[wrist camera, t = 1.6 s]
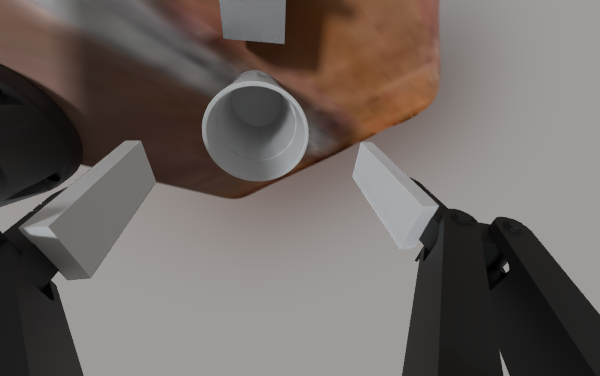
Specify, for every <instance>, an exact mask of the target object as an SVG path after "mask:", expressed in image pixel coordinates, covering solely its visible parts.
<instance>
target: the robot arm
mask: <svg viewBox="0 0 600 376" xmlns="http://www.w3.org/2000/svg"><path fill="white" fill-rule="evenodd" d="M81 160H82V146H81V142H80V139H79V137H78V134H77V132H76V130H75V128H74V127H73V125H72V123H71V122H70V120H69V119H68V118H67V116H66V115H65V114H64V113H63V112H62V110H61V109H60V108H59V107H58V106H57V105H56V104H55V103H54V102H53V101H52V100H51V99H50V98H49V97H48V96H46V95H45V94H44V93H43V92H42V91H40V90H39V89H38V88H37V87H35V86H34V85H32V84H31V83H30V82H28V81H27V80H25V79H24V78H22V77H20V76H19V75H17V74H16V73H14V72H12V71H10V70H9V69H7V68H5V67H3V66H1V65H0V207H2V206H5V205H8V204H11V203H14V202H17V201H20V200H23V199H26V198H29V197H32V196H35V195H38V194H41V193H44V192H47V191H50V190H52V189H54V188H56V187H57V186H59V185H60V184H62V183H63V182H64V181H66V180H67V179H68V178H69V177H71V176H72V175H73V174H74V173H75V172H76V171H77V170H78V168H79V166H80V164H81ZM352 178H353V179H354V181H355V182H356V184H357V185H358V187H359V188H360V190H361V191H362V193H363V194H364V196H365V197H366V199H367V200H368V202H369V203H370V205H371V206H372V208H373V209H374V211H375V212H376V214H377V215H378V217H379V218H380V220H381V221H382V223H383V224H384V226H385V227H386V229H387V230H388V232H389V233H390V235H391V236H392V238H393V239H394V241H395V242H396V244H397V245H398V247H399V248H400V249H411V248H415V246H416V244H417V242H418V241H419V240H420V241H421V242H422V243H423V245H424V247H423V248H422V250H421V251H420V253H419V255H418V256H417V258H416V260H415V261H418V260H419V259H420V260H419V268H418V274H417V281H416V287H415V294H414V300H413V307H412V314H411V320H410V327H409V333H408V340H407V347H406V353H405V361H404V367H403V373H402V376H503V371H502V364H501V359H500V352H501V354H502V357H503V360H504V362H505V365H506V367H507V370H508V372H509V375H510V376H600V314H599V313H598V312H597V311H596V310H595V308H594V307H593V306H592V305H591V303H590V302H589V301H588V300H587V299H586V297H585V296H584V295H583V294H582V293H581V291H580V290H579V289H578V288H577V286H576V285H575V284H574V283H573V282H572V280H571V279H570V278H569V277H568V276H567V274H566V273H565V272H564V270H563V269H562V268H561V267H560V266H559V264H558V263H557V262H556V261H555V260H554V258H553V257H552V256H551V255H550V253H549V252H548V251H547V250H546V248H545V247H544V246H543V245H542V244H541V242H540V241H539V240H538V239H537V238H536V236H535V235H534V234H533V233H532V231H531V230H529V229H528V228H527V227H526V226H524V225H523V224H522V223H520V222H518V221H516V220H514V219H510V218H506V217H497V218H496V219H495V220H494V221H493V222H492V224H491V225H489V224H484V223H478V222H477V220H475V219H474V218H473V217H472V216H470V215H469V214H467V213H465V212H463V211H461V210H457V209H448V208H447V207H446V206H445V205H444V204H443V203H441V202H440V201H439V200H438V199H437V198H436V197H435V196H434V195H433V194H431V193H430V192H429V191H428V190H427V189H425V187H424V186H423V185H422V184H421V183H419V182H418V181H416V180H414V179H413V178H410V177H408V176H407V175H406V174H405V173H404V172H403V171H402V170H401V169H400V168H399V167H398V166H397V165H395V164H394V163H393V162H392V161H391V160H390V159H389V158H388V157H387V156H386V155H385V154H384V153H383V152H382V151H381V150H379V149H378V148H377V147H376V146H375V145H374V144H373V143H372V142H361V144H360V148H359V152H358V156H357V160H356V164H355V168H354V171H353V175H352ZM155 183H156V180H155V177H154V175H153V172H152V169H151V167H150V164H149V161H148V158H147V156H146V153H145V150H144V148H143V145H142V142H141V141H126V140H125V141H124V142H123V143H122V144H120V145H119V146H118V147H117V148H116V149H114V150H113V151H112V152H111V153H109V154H108V155H107V156H106V157H105V158H103V159H102V160H101V161H100V162H98V163H97V164H96V165H95V166H93V167H92V168H91V169H90V170H89V171H87V172H86V173H85V174H84V175H82V176H81V177H80V178H79V179H78V180H76V181H75V182H74V183H73V184H71V185H70V186H69V187H66V188H64V189H62V190H60V191H58V192H56V193H54V194H52V195H51V196H50V197H48V198H47V199H46V200H45V201H43V202H42V204H40V205H38V206H37V207H36V208H35V209H33V212H29V213H28V214H27V215H26V216H24V217H23V218H22V219H21V220H19V221H18V222H17V223H16V224H14V225H13V226H12V227H10V228H9V229H8V230H7V231H5V232H4V233H1V231H0V376H83V372H82V369H81V366H80V362H79V359H78V356H77V353H76V349H75V346H74V343H73V339H72V336H71V333H70V330H69V326H68V323H67V320H66V316H65V313H64V310H63V306H62V303H61V300H60V296H59V293H58V290H57V286H56V285H55V284H54V283H53V282H52V281H51V279H52V278H53V277H54V276H55V274H56V273H57V272H58V271H59V272H60V273H61V274H62V275H63V276H64V277H65V278H66V279H67V280H75V279H86V278H91V277H92V276H93V274H94V273H95V271H96V270H97V268H98V267H99V266H100V264H101V263H102V261H103V260H104V258H105V257H106V255H107V254H108V252H109V251H110V249H111V248H112V246H113V245H114V243H115V242H116V240H117V239H118V238H119V236H120V235H121V233H122V232H123V230H124V229H125V227H126V226H127V224H128V222H129V221H130V220H131V218H132V217H133V215H134V214H135V212H136V211H137V209H138V208H139V206H140V205H141V203H142V202H143V201H144V199H145V198H146V196H147V195H148V193H149V192H150V190H151V189H152V187H153V186H154V184H155ZM507 262H508V264H509V271H508V272H507V273H506V272H505V270H504V269H503V266H504V265H505V264H506V263H507ZM499 350H500V352H499Z"/></svg>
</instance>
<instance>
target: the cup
mask: <svg viewBox="0 0 600 376" xmlns="http://www.w3.org/2000/svg"><path fill="white" fill-rule="evenodd" d="M202 136H203V141H204V144H205V147H206V149H207V151H208V153H209V155H210V156H211V158H212V159H213V160H214V162H215V163H216V164H217V165H218V166H219V167H220V168H222V169H223V170H224V171H226V172H227V173H229V174H231V175H233V176H235V177H237V178H240V179H243V180H248V181H268V180H273V179H276V178H279V177H281V176H283V175H285V174H286V173H288V172H289V171H291V170H292V169H293V168H294V167H295V166H296V165H297V164H298V163H299V162H300V160H301V159H302V157H303V155H304V153H305V151H306V148H307V145H308V139H309V128H308V122H307V119H306V116H305V114H304V112H303V110H302V108H301V106H300V105H299V104H298V102H297V101H296V100H295V99H294V98H293V97H292V96H291V95H290V94H289V93H288V92H286V91H285V90H284V89H283V88H282V87H280V86H279V84H278V83H277V81H276V80H275V79H274V78H273V77H272V76H270V75H269V74H267V73H265V72H263V71H259V70H250V71H246V72H244V73H242V74H240V75H239V76H238V77H237V78H236V79H235V80H234V82H233V83H232V84H230V85H229V86H227V87H226V88H225V89H223V90H222V91H221V92H219V93H218V94H217V95H216V96H215V97H214V98H213V99H212V101H211V102H210V103H209V105H208V107H207V109H206V111H205V113H204V117H203V122H202Z"/></svg>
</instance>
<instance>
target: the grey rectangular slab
mask: <svg viewBox="0 0 600 376" xmlns="http://www.w3.org/2000/svg"><path fill="white" fill-rule="evenodd" d="M219 1H220V11H221V20H222V30H223V39H234V40H245V41H256V42H267V43H279V44H285V11H286V0H219Z"/></svg>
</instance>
